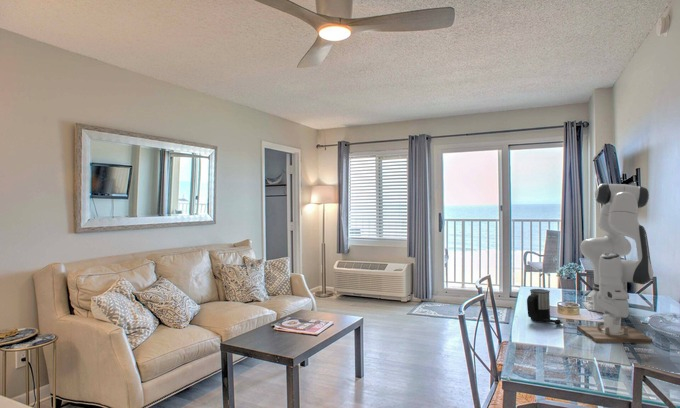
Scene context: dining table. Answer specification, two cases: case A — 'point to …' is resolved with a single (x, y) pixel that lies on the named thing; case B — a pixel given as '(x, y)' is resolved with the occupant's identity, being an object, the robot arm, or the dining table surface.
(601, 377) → the dining table surface
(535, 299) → the milk frother
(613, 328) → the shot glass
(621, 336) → the pin board
